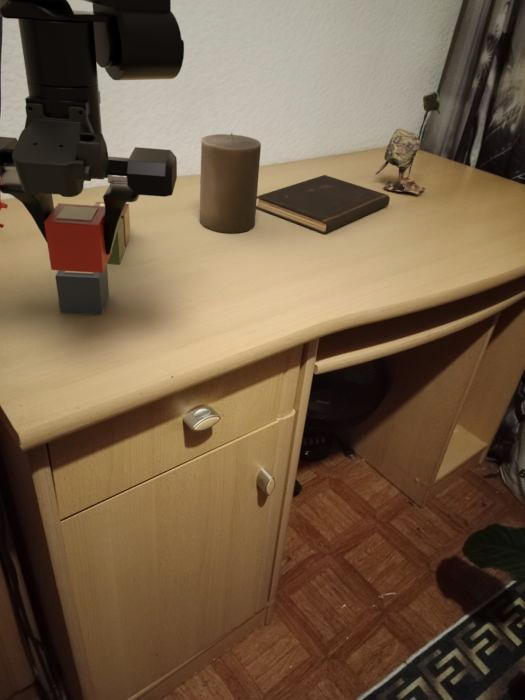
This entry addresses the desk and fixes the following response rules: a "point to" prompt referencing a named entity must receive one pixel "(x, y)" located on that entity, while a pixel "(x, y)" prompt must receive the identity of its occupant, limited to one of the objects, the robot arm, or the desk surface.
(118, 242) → the olive block
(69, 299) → the slate block
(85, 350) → the desk surface
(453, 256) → the desk surface
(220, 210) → the pillar candle
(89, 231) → the red block
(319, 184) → the hardcover book
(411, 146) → the mottled figurine
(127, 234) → the walnut block
